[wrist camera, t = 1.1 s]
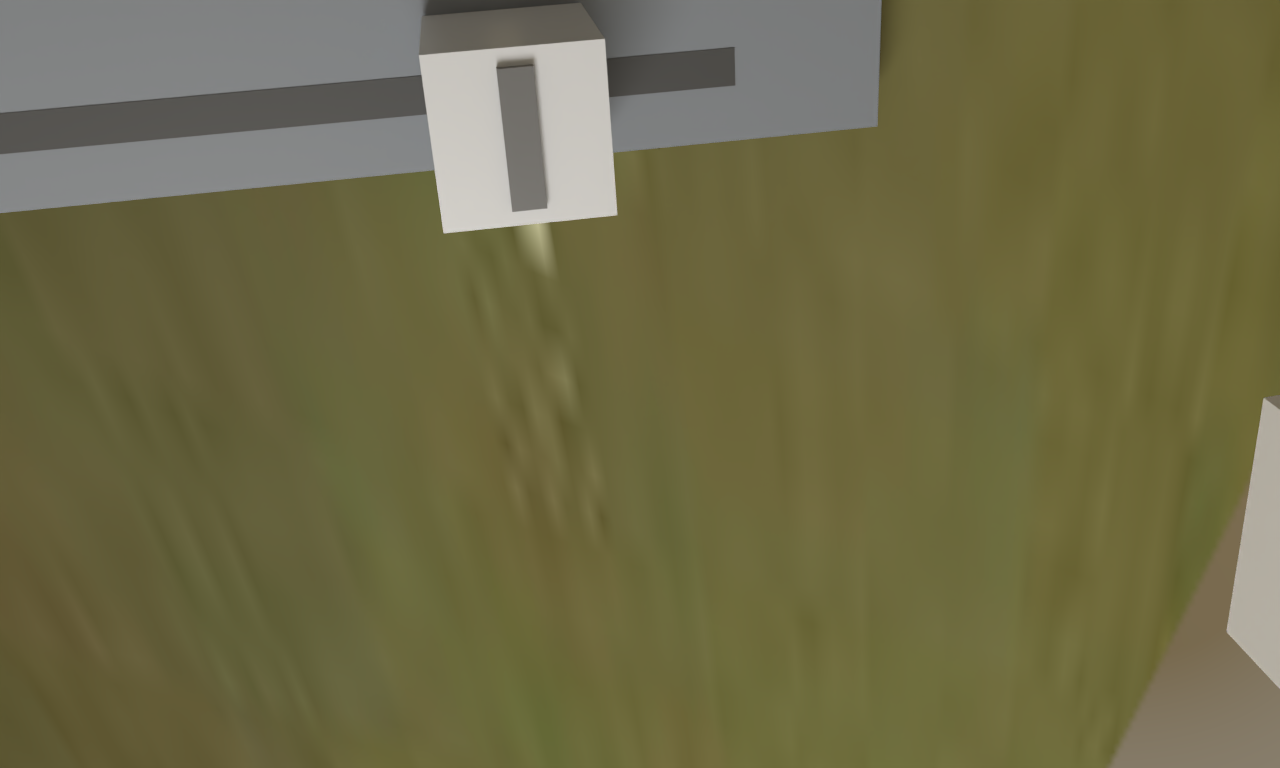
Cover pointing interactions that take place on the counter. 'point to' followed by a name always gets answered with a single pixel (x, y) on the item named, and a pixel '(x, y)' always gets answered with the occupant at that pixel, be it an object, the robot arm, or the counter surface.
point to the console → (376, 86)
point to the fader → (518, 116)
